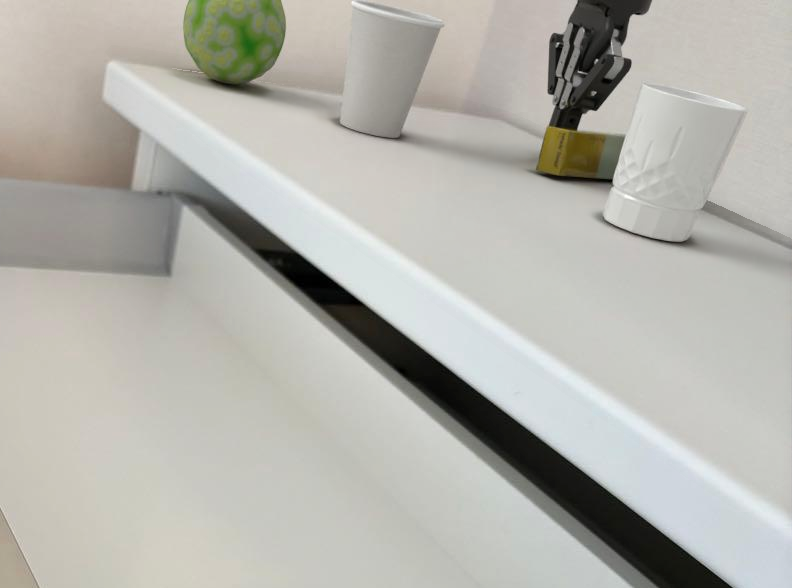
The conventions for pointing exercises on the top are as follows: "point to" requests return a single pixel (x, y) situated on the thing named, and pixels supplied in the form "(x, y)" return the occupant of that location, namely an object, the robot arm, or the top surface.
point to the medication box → (580, 153)
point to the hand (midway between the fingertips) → (554, 151)
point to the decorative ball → (234, 37)
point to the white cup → (670, 160)
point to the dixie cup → (385, 66)
